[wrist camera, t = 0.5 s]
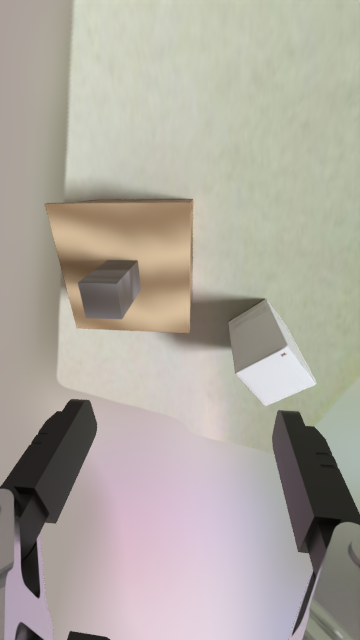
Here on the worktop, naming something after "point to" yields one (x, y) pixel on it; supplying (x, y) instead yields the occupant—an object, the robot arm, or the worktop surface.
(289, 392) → the supplement box
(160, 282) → the lid
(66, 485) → the robot arm
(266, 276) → the worktop surface
